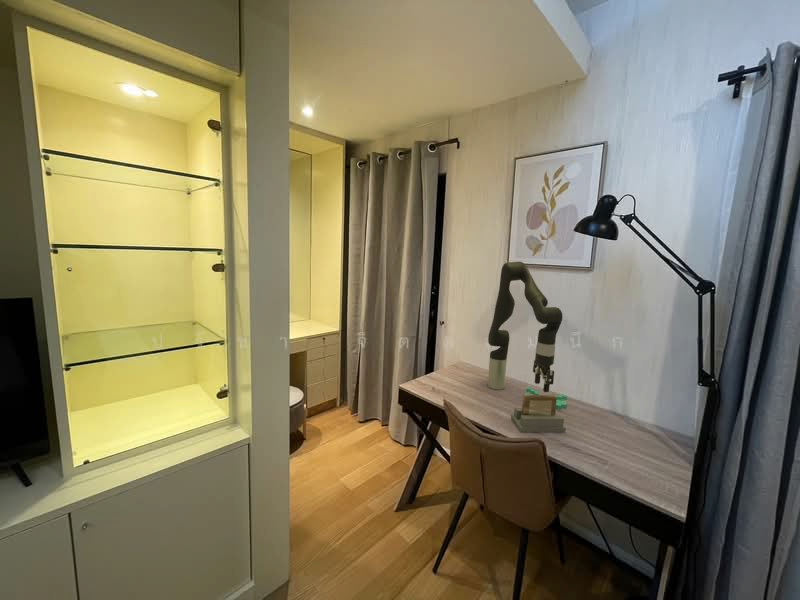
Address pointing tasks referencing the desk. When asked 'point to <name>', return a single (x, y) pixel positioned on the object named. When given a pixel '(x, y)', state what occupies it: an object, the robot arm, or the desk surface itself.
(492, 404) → the desk surface
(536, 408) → the walnut frame
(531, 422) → the picture ledge
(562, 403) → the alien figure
